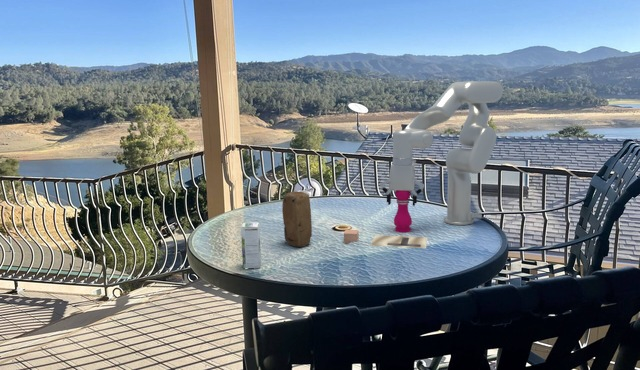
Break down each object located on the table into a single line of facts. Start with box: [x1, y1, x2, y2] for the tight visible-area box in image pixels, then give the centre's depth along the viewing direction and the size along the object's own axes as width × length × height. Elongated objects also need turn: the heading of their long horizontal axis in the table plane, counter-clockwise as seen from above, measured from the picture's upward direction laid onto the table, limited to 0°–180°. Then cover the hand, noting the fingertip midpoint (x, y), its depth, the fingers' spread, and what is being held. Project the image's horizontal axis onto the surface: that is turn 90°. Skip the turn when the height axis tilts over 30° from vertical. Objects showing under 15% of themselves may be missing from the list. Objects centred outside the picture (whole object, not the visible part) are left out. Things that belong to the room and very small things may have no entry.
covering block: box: [343, 229, 360, 244], centre depth 180 cm, size 5×5×4 cm
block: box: [281, 190, 313, 248], centre depth 178 cm, size 11×8×20 cm
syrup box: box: [240, 221, 262, 269], centre depth 157 cm, size 6×6×14 cm
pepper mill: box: [393, 190, 413, 233], centre depth 188 cm, size 7×7×20 cm
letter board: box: [370, 234, 428, 249], centre depth 176 cm, size 20×13×1 cm, turn 75°
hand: (401, 204), depth 187 cm, fingers open, 9 cm apart
